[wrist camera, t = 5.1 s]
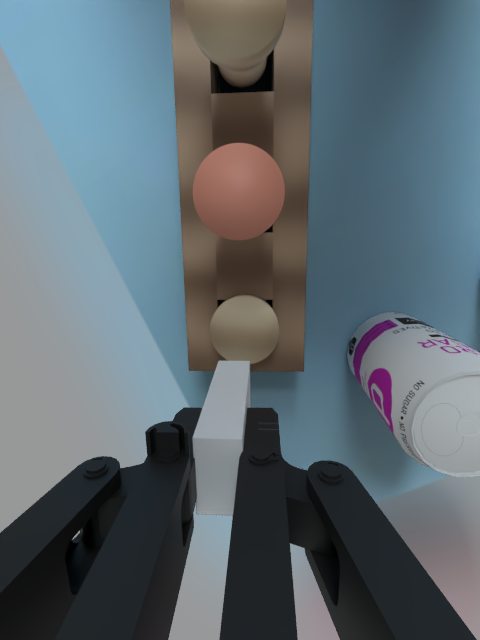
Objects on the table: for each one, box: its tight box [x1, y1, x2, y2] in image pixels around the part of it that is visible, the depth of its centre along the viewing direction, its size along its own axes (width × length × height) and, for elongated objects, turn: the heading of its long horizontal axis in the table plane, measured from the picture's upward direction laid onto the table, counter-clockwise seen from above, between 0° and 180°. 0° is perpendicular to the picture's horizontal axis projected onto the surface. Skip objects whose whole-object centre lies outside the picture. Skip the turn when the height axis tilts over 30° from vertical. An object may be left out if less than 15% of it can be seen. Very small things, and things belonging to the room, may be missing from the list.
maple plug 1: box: [184, 0, 287, 88], centre depth 23 cm, size 6×6×7 cm
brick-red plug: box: [193, 143, 285, 240], centre depth 25 cm, size 6×6×7 cm
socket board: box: [170, 0, 314, 371], centre depth 31 cm, size 28×10×6 cm, turn 1°
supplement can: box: [347, 312, 480, 477], centre depth 29 cm, size 8×8×15 cm
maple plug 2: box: [210, 294, 279, 364], centre depth 32 cm, size 6×6×7 cm
